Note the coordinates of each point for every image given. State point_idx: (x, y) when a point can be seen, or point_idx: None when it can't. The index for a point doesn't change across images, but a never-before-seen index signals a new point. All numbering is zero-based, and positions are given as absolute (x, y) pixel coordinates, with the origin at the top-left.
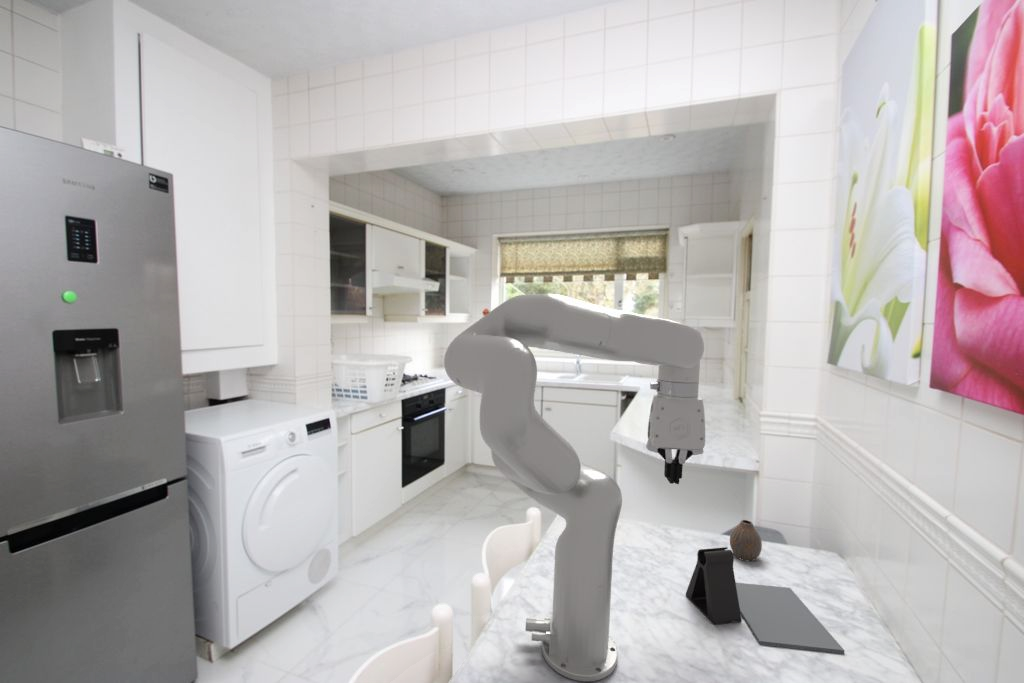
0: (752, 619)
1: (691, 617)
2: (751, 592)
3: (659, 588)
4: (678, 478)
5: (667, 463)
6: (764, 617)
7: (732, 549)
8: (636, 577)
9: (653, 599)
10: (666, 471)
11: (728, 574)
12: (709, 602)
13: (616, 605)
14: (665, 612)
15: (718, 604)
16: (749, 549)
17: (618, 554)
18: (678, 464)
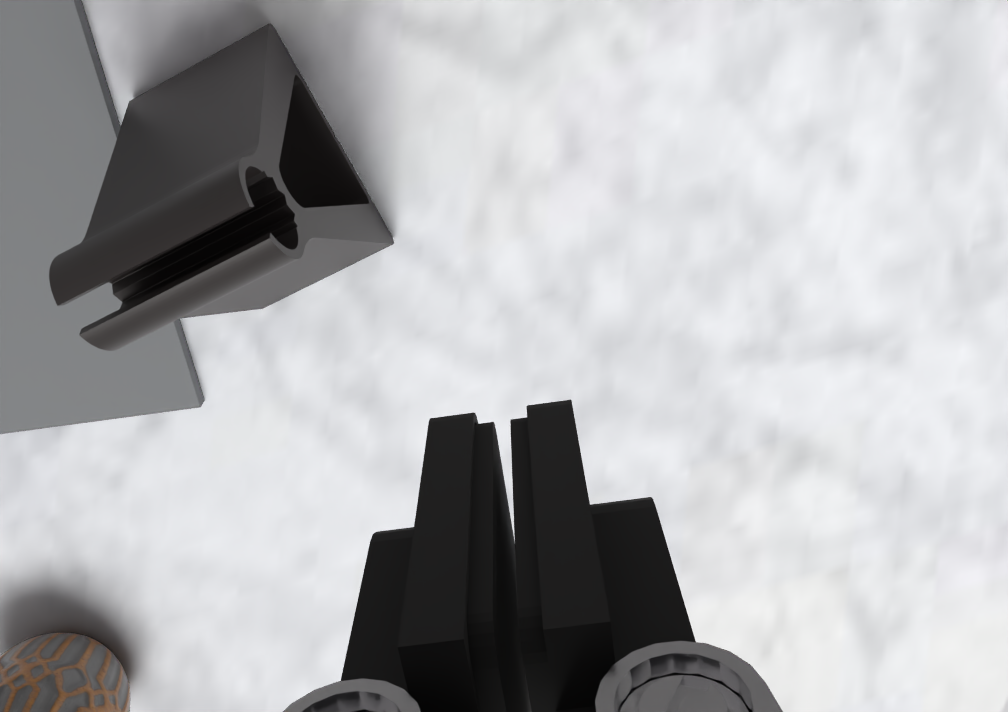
0: (74, 114)
1: (380, 56)
2: (62, 353)
3: (524, 264)
4: (439, 456)
5: (690, 673)
6: (14, 151)
7: (123, 677)
8: (637, 326)
9: (564, 154)
10: (667, 551)
11: (125, 201)
12: (274, 76)
13: (770, 34)
14: (511, 56)
15: (227, 79)
16: (26, 662)
17: (714, 506)
18: (437, 640)
